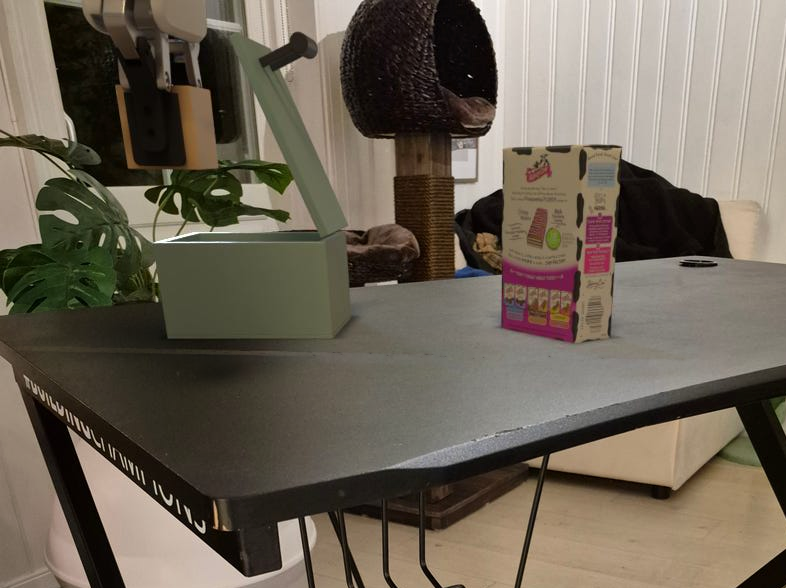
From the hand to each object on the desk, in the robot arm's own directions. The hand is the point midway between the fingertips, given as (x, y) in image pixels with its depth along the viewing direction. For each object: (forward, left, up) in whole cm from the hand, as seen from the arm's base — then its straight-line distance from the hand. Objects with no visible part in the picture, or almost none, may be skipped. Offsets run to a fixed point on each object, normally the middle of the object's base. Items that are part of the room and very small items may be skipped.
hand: (173, 161), depth 60 cm
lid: (0, +27, +1) cm, 27 cm away
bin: (-5, +27, -15) cm, 31 cm away
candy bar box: (+24, +27, -15) cm, 39 cm away
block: (0, 0, 0) cm, 0 cm away
